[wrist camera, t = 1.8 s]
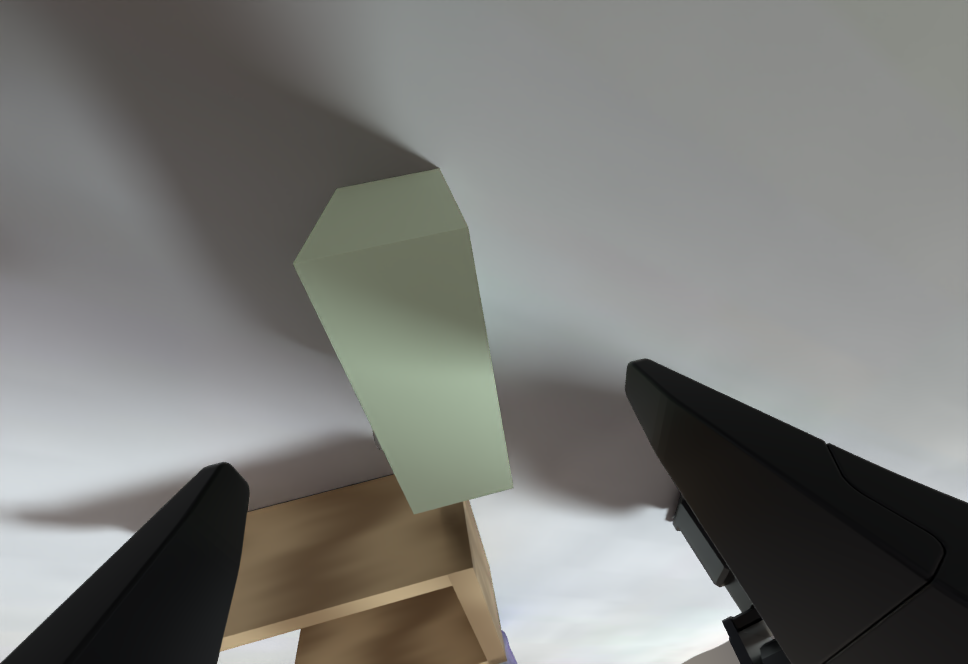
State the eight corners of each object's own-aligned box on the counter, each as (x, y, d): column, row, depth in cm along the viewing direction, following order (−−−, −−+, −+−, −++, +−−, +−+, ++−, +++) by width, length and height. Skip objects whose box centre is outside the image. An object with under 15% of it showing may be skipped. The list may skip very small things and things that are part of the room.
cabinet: (455, 455, 18) (474, 579, 13) (489, 566, 25) (509, 672, 20) (153, 533, 17) (66, 695, 12) (277, 626, 24) (250, 751, 19)
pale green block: (439, 167, 11) (468, 226, 6) (479, 370, 15) (513, 487, 11) (309, 193, 11) (243, 273, 6) (389, 392, 15) (386, 521, 11)
